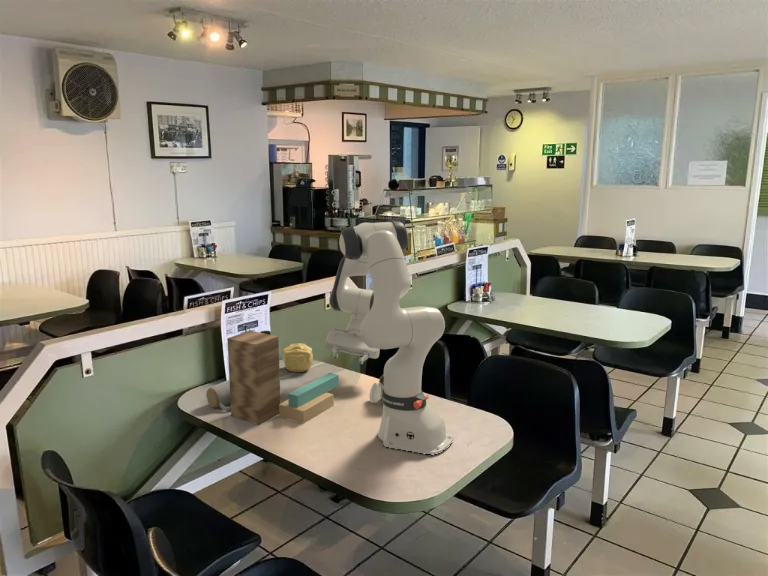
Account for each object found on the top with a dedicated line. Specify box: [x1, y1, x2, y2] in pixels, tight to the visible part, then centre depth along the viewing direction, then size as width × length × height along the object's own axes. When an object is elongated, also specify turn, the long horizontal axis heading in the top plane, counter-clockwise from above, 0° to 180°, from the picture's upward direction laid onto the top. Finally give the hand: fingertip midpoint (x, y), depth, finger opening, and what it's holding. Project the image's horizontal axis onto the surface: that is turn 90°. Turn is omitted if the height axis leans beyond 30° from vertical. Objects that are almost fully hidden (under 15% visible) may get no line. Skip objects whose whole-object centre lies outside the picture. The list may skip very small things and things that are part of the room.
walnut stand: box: [227, 330, 282, 426], centre depth 186 cm, size 12×10×26 cm
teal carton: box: [287, 372, 340, 407], centre depth 194 cm, size 4×22×4 cm, turn 149°
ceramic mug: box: [206, 379, 231, 412], centre depth 194 cm, size 11×8×8 cm
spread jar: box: [369, 373, 384, 404], centre depth 198 cm, size 12×11×12 cm
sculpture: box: [282, 342, 314, 373], centre depth 228 cm, size 12×12×11 cm
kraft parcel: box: [278, 392, 335, 424], centre depth 191 cm, size 10×16×4 cm, turn 149°
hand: (347, 360), depth 207 cm, fingers open, 8 cm apart
